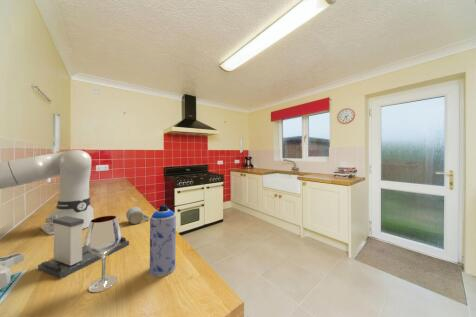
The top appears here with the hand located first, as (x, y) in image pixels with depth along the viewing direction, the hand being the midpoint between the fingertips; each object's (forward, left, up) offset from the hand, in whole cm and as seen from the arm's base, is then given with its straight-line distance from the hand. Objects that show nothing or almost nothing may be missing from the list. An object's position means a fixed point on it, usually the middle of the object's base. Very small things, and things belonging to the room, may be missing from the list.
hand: (21, 256), depth 46 cm
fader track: (0, +16, -8) cm, 18 cm away
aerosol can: (+30, +19, -8) cm, 37 cm away
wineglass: (+19, +9, -8) cm, 23 cm away
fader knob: (0, +10, -6) cm, 12 cm away
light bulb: (-14, +47, -9) cm, 49 cm away
